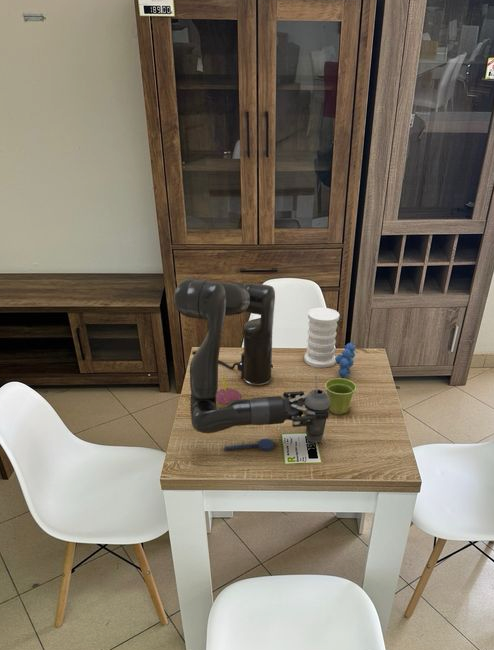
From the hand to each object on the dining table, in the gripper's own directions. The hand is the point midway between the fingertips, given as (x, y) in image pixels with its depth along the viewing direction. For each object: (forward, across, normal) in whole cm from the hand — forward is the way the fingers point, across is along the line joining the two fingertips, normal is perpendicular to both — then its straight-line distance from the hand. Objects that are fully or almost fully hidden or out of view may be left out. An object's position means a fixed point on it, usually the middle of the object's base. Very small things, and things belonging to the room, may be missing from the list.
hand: (324, 406), depth 150 cm
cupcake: (-24, +19, +12) cm, 33 cm away
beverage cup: (-2, 0, +11) cm, 11 cm away
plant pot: (+9, +15, +12) cm, 21 cm away
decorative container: (+12, +47, +12) cm, 50 cm away
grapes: (+17, +35, +12) cm, 41 cm away
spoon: (-21, 0, +12) cm, 24 cm away
